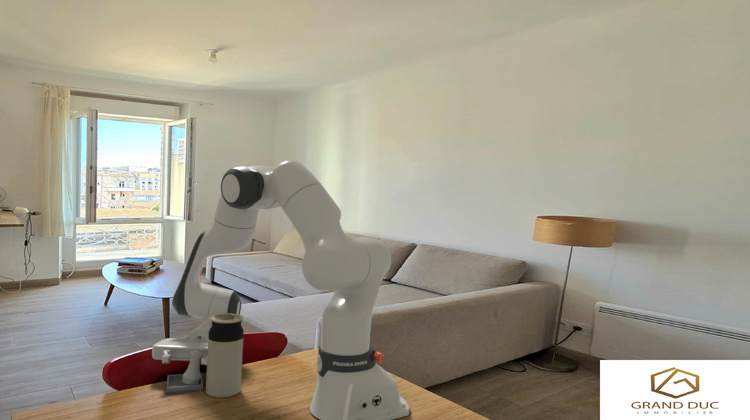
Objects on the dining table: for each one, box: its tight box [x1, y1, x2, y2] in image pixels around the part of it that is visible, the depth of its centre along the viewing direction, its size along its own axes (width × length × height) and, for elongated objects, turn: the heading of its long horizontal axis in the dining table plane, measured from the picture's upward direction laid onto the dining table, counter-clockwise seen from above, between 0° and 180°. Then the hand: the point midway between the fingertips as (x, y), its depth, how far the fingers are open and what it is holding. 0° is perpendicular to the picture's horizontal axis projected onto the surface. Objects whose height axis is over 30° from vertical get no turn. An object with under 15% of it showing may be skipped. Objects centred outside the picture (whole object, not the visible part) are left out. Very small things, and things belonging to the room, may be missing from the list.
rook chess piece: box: [182, 348, 204, 385], centre depth 117 cm, size 4×4×8 cm
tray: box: [166, 372, 204, 395], centre depth 117 cm, size 8×8×2 cm
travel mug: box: [205, 313, 244, 399], centre depth 115 cm, size 8×8×18 cm
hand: (184, 361), depth 116 cm, fingers open, 8 cm apart
